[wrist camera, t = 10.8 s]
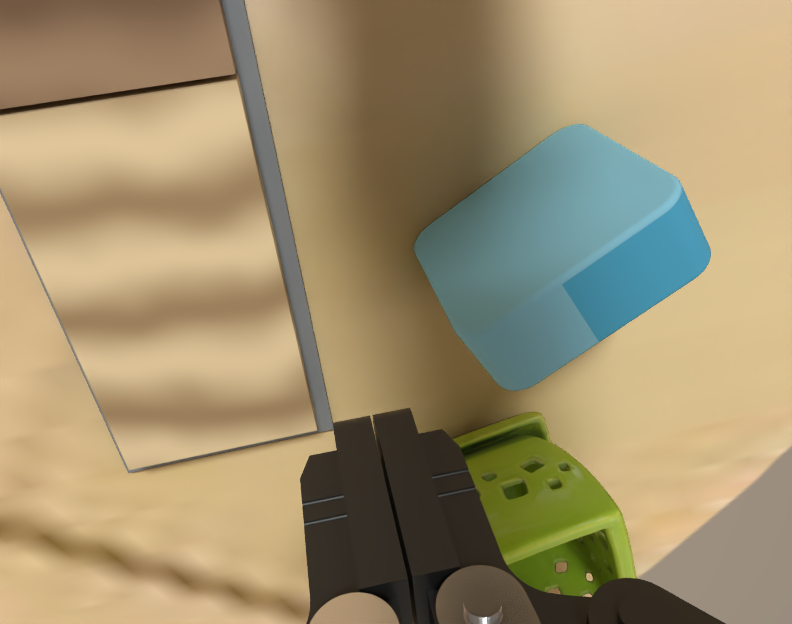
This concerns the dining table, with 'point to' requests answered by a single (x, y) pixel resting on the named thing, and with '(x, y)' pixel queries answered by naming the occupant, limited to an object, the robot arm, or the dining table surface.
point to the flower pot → (546, 508)
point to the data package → (560, 253)
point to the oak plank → (161, 264)
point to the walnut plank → (107, 46)
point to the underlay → (279, 218)
